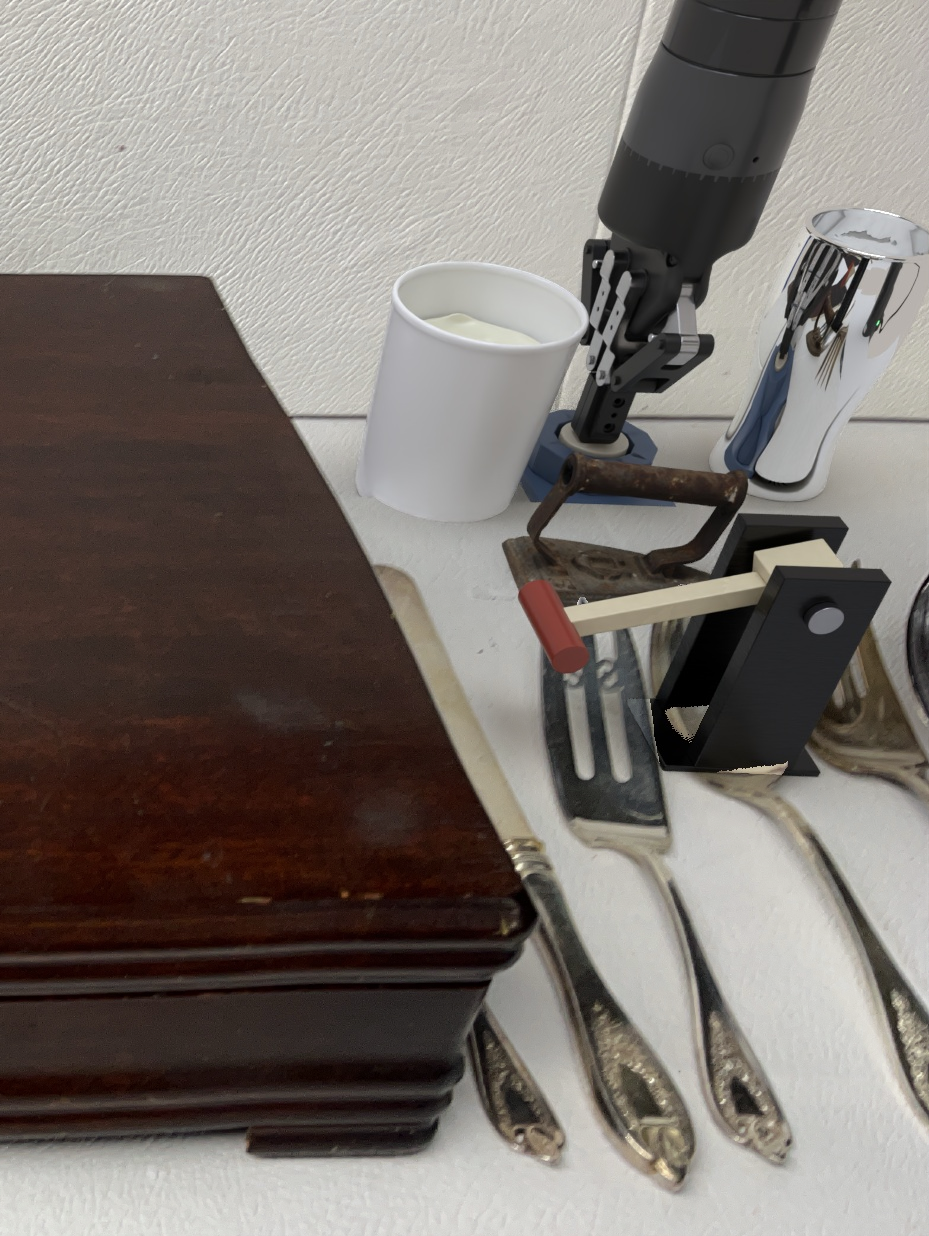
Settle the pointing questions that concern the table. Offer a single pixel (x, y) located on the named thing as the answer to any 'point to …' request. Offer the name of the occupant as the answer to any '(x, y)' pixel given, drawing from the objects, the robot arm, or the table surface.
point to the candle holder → (464, 387)
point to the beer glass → (823, 345)
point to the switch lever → (654, 603)
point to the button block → (553, 454)
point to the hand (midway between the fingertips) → (592, 436)
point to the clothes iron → (611, 568)
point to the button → (593, 445)
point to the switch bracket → (766, 653)
